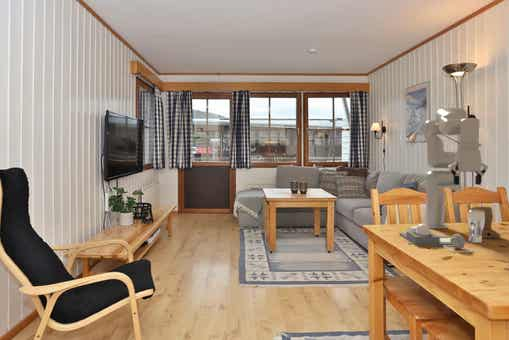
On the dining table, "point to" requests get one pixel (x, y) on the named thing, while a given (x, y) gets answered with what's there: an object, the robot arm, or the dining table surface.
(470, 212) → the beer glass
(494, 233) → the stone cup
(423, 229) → the dome button
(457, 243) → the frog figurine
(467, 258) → the dining table surface
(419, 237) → the game board
